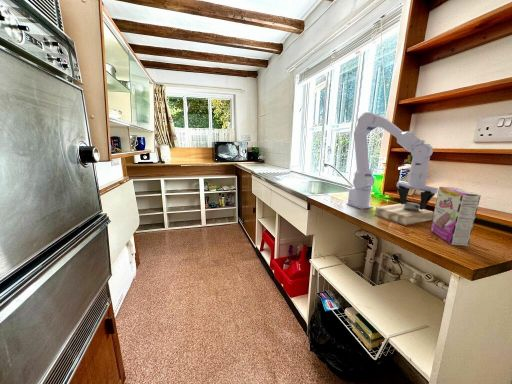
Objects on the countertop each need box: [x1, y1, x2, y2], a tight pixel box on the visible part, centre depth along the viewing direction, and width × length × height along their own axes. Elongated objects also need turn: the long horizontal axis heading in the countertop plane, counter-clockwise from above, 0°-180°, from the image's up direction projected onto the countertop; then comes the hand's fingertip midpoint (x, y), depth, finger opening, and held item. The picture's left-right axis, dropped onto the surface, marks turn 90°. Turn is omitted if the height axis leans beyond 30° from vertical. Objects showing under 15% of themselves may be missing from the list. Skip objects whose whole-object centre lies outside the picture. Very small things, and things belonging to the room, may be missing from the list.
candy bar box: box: [429, 186, 482, 247], centre depth 68 cm, size 11×5×16 cm, turn 168°
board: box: [374, 203, 434, 226], centre depth 90 cm, size 13×17×4 cm
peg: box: [404, 201, 420, 212], centre depth 89 cm, size 5×5×6 cm
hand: (412, 206), depth 89 cm, fingers open, 7 cm apart
